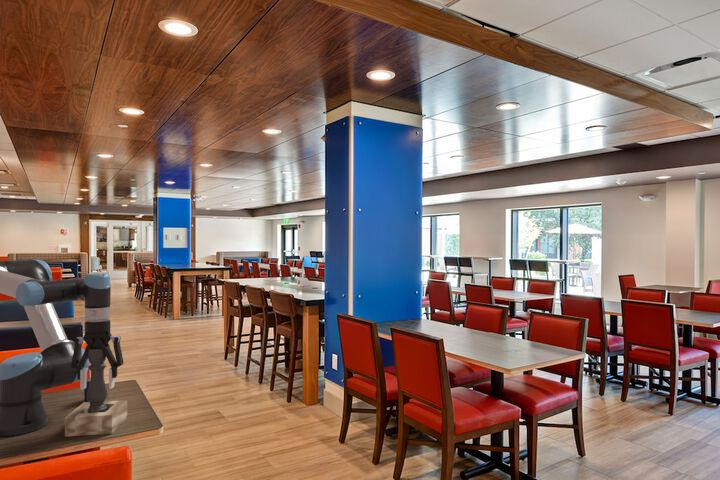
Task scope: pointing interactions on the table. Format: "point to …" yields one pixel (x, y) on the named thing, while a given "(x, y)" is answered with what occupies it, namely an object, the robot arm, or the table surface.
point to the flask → (86, 389)
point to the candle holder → (97, 381)
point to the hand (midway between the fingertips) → (97, 388)
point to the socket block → (95, 419)
